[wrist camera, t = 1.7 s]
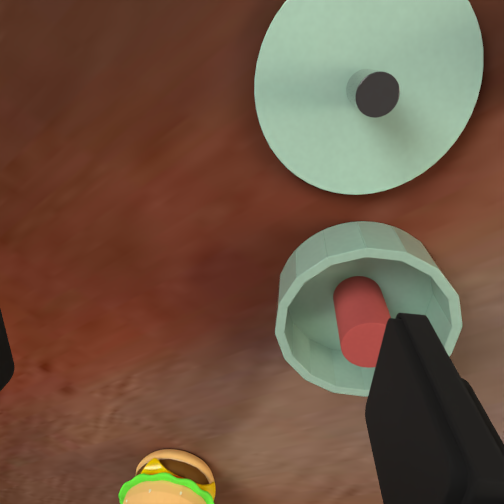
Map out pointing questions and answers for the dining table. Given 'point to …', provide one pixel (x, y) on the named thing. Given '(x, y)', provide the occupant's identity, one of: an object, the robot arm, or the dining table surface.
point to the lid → (367, 88)
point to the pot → (345, 266)
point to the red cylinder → (360, 319)
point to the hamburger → (170, 480)
